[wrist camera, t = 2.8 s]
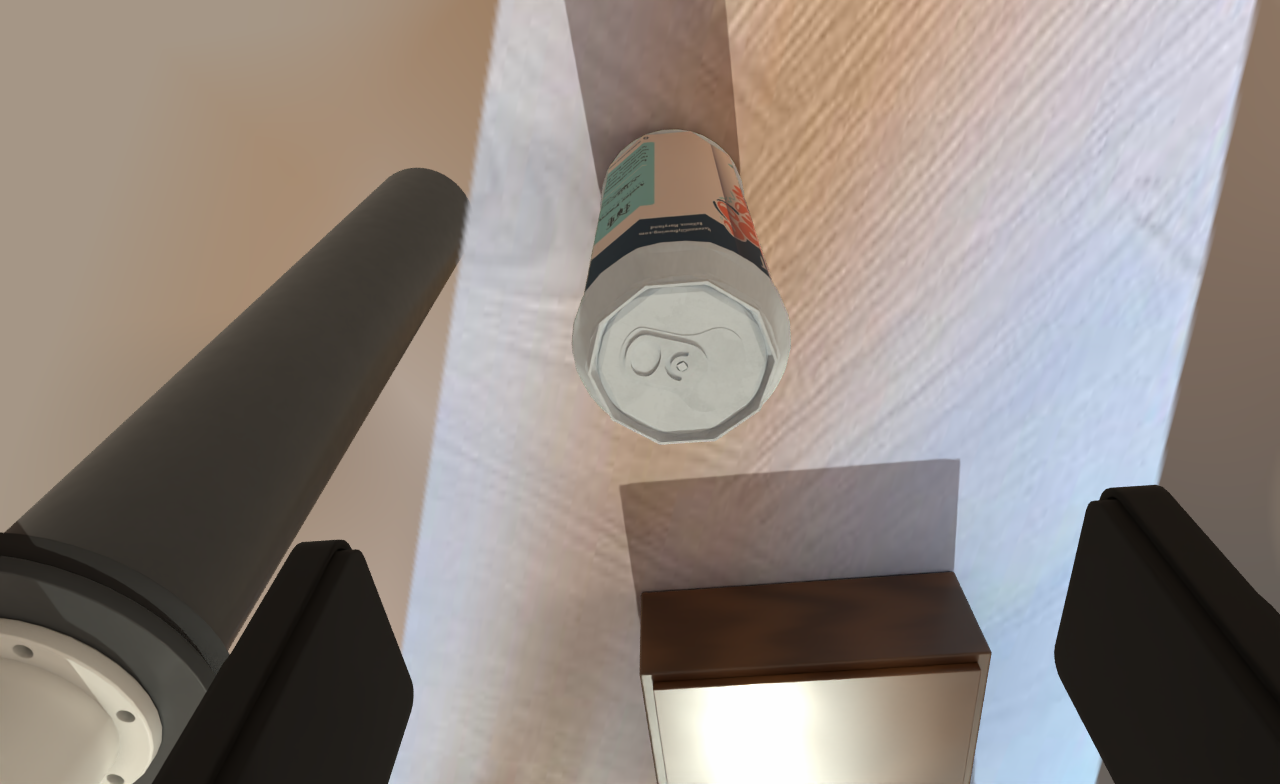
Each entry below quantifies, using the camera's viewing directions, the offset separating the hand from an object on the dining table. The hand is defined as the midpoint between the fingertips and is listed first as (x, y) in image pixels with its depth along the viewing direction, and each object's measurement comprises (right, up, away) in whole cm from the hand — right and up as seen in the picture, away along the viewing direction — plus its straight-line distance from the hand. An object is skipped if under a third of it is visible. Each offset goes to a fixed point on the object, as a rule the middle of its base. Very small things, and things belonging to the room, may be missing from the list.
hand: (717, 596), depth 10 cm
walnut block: (+7, -12, +29) cm, 32 cm away
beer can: (0, +9, +16) cm, 19 cm away
